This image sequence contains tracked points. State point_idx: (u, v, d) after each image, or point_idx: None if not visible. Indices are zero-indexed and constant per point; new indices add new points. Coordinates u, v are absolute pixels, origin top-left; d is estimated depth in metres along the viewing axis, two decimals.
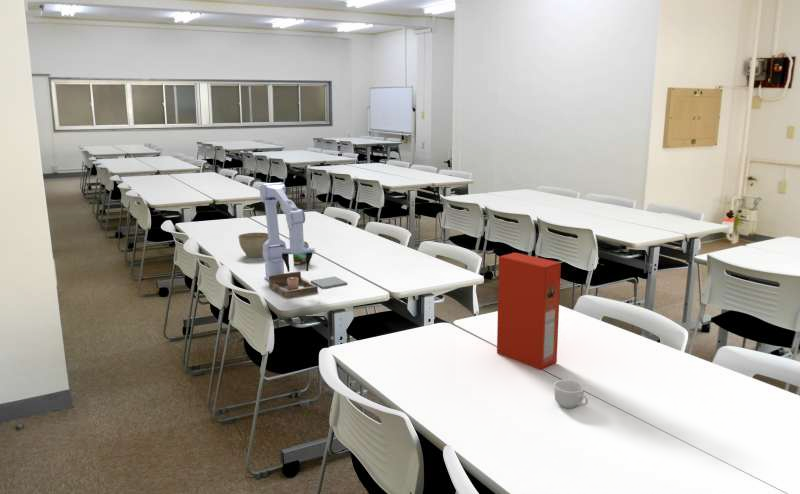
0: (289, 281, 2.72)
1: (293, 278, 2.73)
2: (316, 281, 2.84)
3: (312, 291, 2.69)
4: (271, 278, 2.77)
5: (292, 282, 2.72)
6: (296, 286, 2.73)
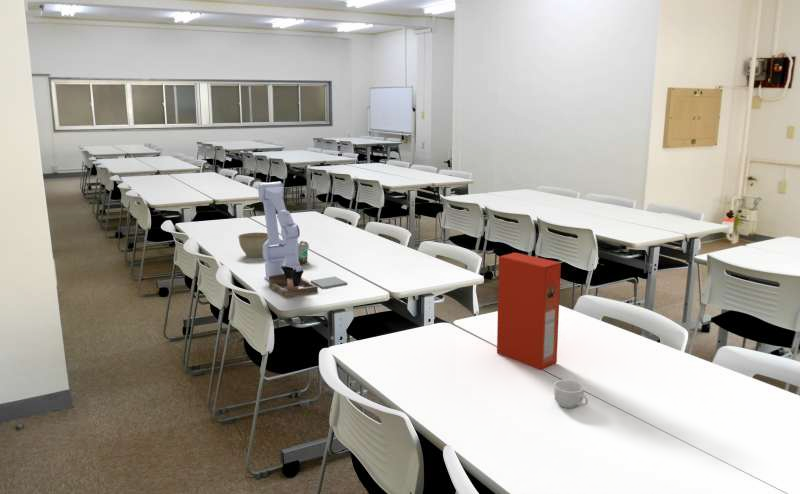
0: (289, 281, 2.72)
1: None
2: (316, 281, 2.84)
3: (312, 291, 2.69)
4: (271, 278, 2.77)
5: (292, 282, 2.72)
6: (296, 286, 2.73)
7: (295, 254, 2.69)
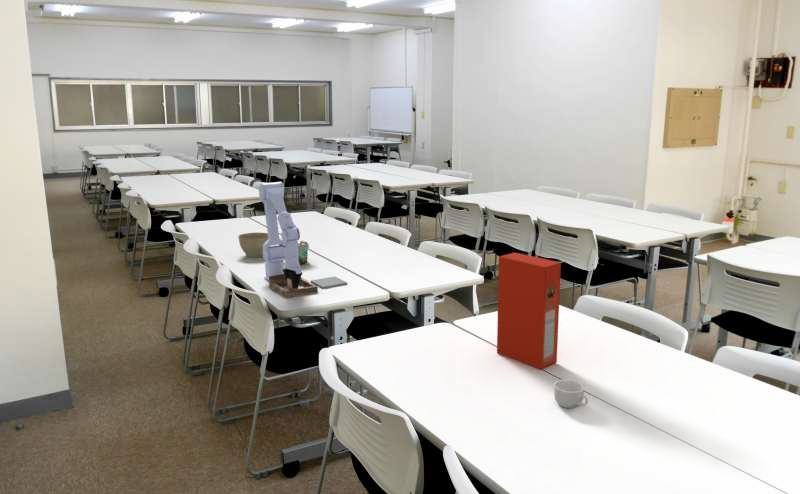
0: (289, 281, 2.72)
1: None
2: (316, 281, 2.84)
3: (312, 291, 2.69)
4: (271, 278, 2.77)
5: None
6: None
7: (295, 256, 2.69)
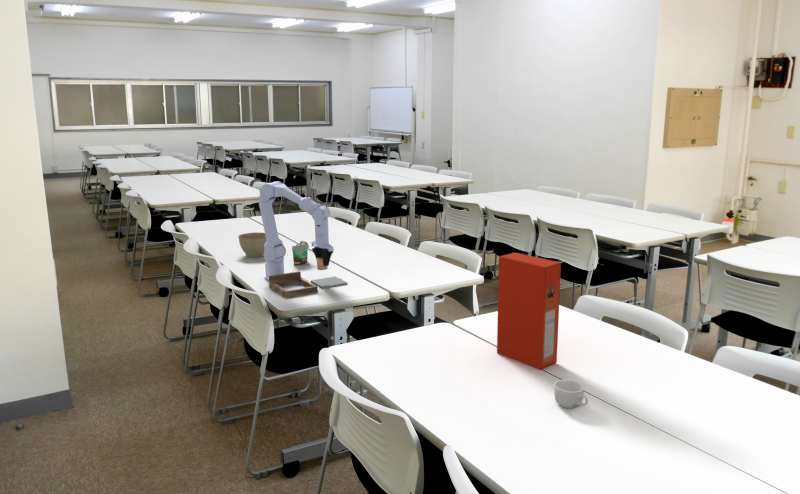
0: (319, 260, 2.77)
1: None
2: (316, 281, 2.84)
3: (312, 291, 2.69)
4: (271, 278, 2.77)
5: (322, 261, 2.77)
6: None
7: (326, 235, 2.75)
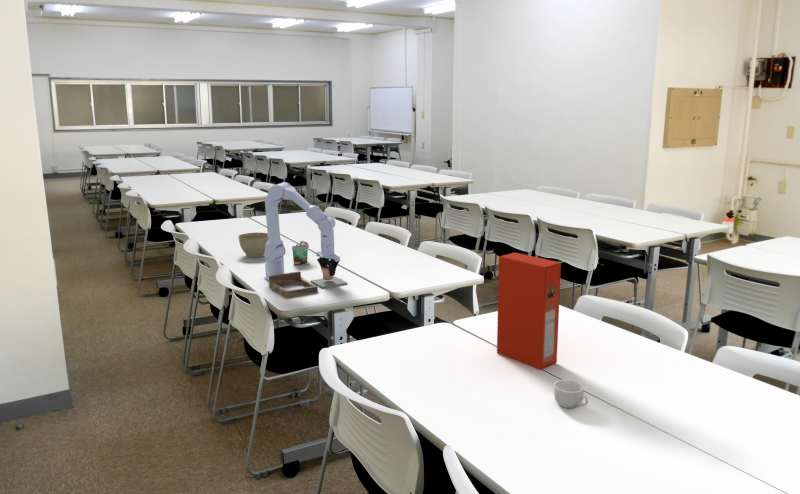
0: (325, 270, 2.80)
1: (328, 267, 2.81)
2: (316, 281, 2.84)
3: (312, 291, 2.69)
4: (271, 278, 2.77)
5: (328, 271, 2.80)
6: None
7: (332, 245, 2.78)
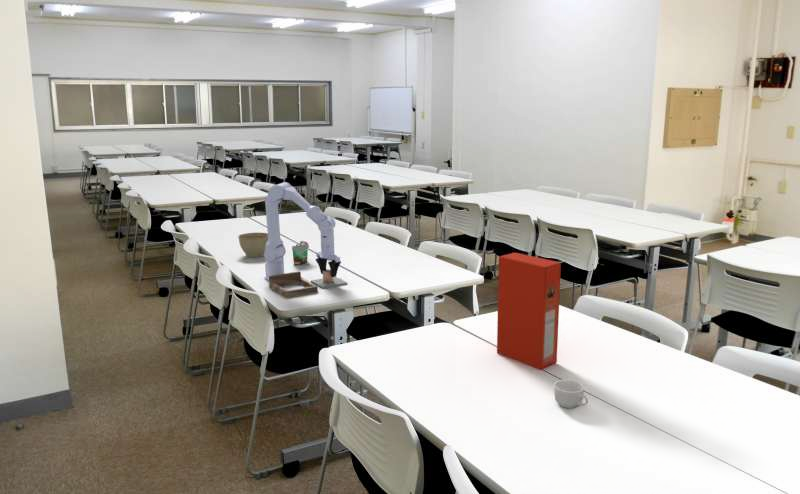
0: (325, 273, 2.80)
1: (328, 270, 2.82)
2: (316, 281, 2.84)
3: (312, 291, 2.69)
4: (271, 278, 2.77)
5: (328, 274, 2.80)
6: (332, 278, 2.82)
7: (332, 246, 2.78)
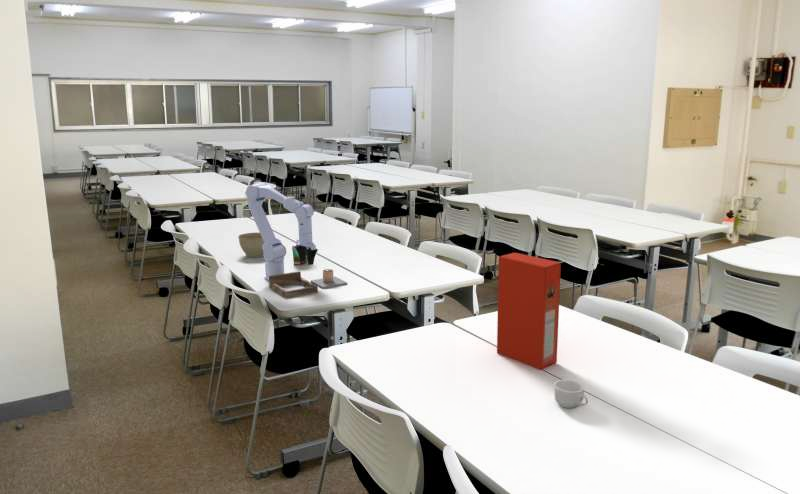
0: (326, 273, 2.80)
1: (328, 270, 2.82)
2: (316, 281, 2.84)
3: (312, 291, 2.69)
4: (271, 278, 2.77)
5: (328, 274, 2.80)
6: (332, 278, 2.82)
7: (309, 233, 2.77)
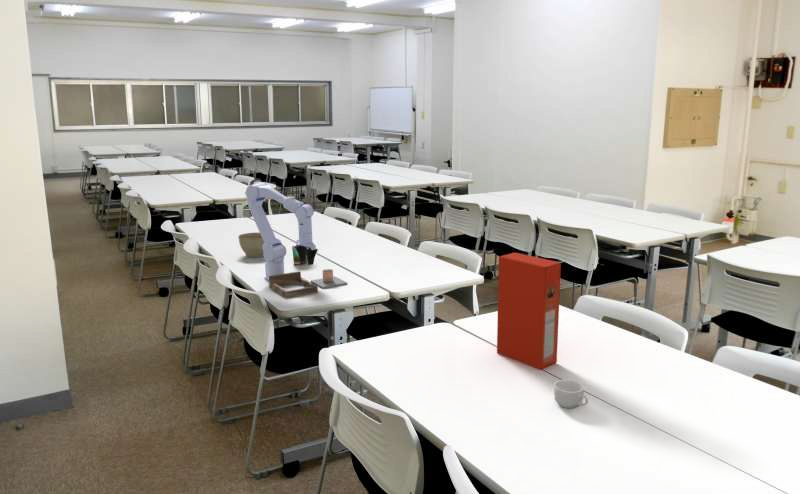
0: (325, 273, 2.80)
1: (328, 270, 2.82)
2: (316, 281, 2.84)
3: (312, 291, 2.69)
4: (271, 278, 2.77)
5: (328, 274, 2.80)
6: (332, 278, 2.82)
7: (309, 233, 2.77)
